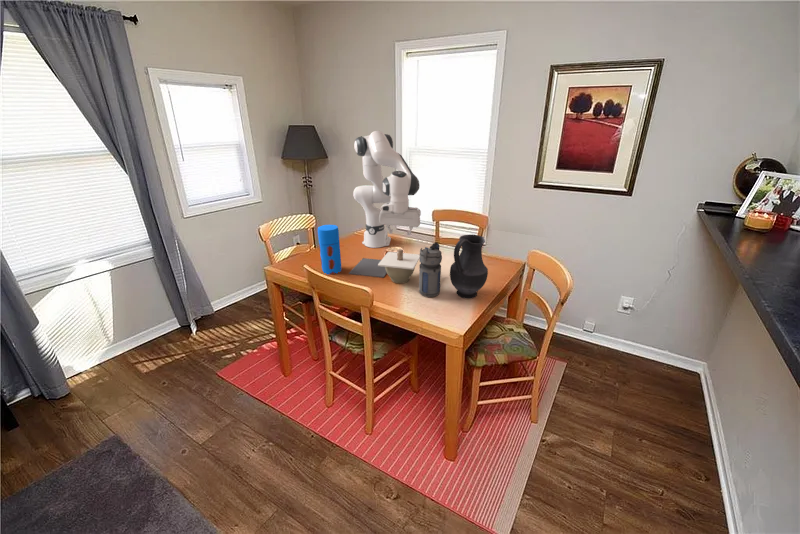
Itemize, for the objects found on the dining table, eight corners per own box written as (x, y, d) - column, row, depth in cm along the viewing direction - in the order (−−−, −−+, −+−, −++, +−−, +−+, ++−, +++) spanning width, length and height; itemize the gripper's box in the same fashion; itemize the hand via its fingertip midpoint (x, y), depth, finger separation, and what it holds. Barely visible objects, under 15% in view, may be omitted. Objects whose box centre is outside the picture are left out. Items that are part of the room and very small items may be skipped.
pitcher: (491, 293, 167) (498, 234, 155) (468, 310, 153) (474, 246, 141) (461, 282, 178) (465, 226, 165) (437, 297, 164) (439, 237, 151)
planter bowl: (379, 282, 178) (378, 263, 174) (394, 271, 191) (393, 253, 187) (406, 289, 172) (406, 269, 167) (420, 276, 185) (420, 258, 180)
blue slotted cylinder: (322, 275, 187) (317, 231, 177) (321, 267, 196) (316, 225, 186) (342, 273, 190) (339, 229, 179) (340, 265, 199) (337, 223, 189)
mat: (363, 258, 208) (363, 258, 208) (395, 262, 203) (395, 261, 203) (348, 273, 188) (348, 272, 188) (383, 277, 184) (383, 276, 183)
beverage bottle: (445, 289, 171) (447, 241, 161) (433, 300, 161) (435, 250, 151) (427, 284, 176) (428, 238, 166) (414, 295, 166) (415, 246, 155)
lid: (388, 253, 187) (388, 242, 185) (420, 256, 183) (421, 245, 180) (377, 265, 171) (377, 255, 169) (413, 269, 167) (413, 258, 165)
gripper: (422, 206, 166) (421, 233, 172) (381, 203, 171) (382, 230, 176) (419, 209, 160) (418, 237, 166) (377, 206, 165) (378, 234, 171)
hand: (399, 233), depth 171 cm, fingers open, 8 cm apart
